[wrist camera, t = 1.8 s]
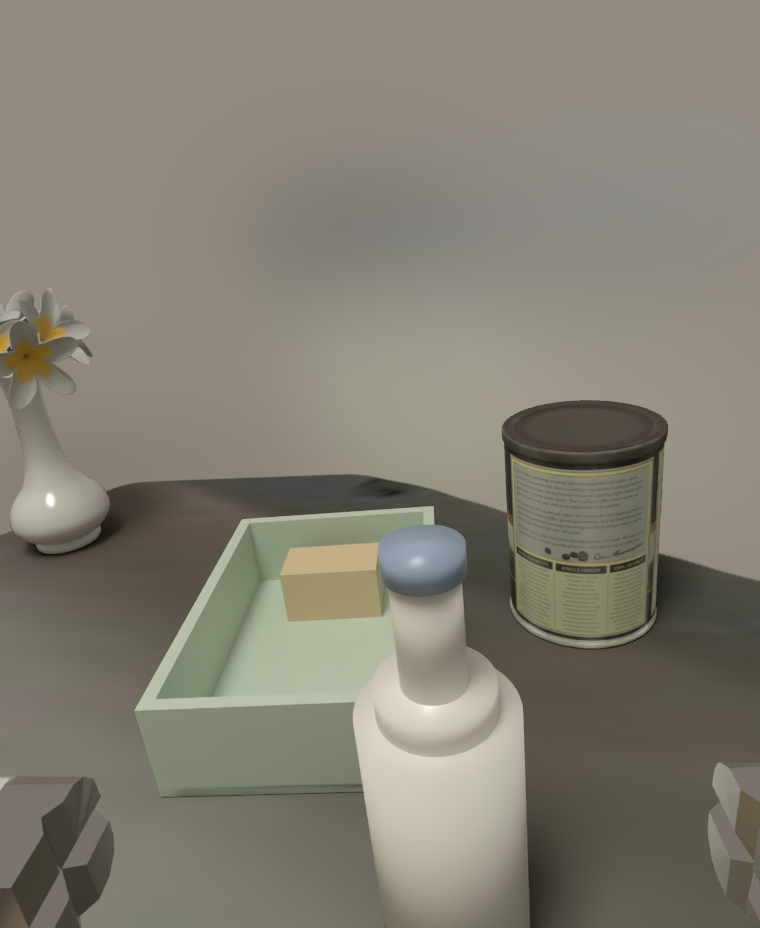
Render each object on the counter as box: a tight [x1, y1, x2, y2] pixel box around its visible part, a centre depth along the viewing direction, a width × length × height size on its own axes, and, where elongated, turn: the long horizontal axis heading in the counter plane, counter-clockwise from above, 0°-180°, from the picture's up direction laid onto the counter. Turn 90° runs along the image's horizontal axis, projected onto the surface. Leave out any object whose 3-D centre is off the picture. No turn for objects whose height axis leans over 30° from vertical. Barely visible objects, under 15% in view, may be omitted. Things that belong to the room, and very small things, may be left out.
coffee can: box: [502, 400, 668, 649], centre depth 46 cm, size 10×10×14 cm
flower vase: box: [0, 288, 110, 554], centre depth 63 cm, size 13×18×25 cm
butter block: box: [280, 542, 385, 622], centre depth 50 cm, size 7×4×4 cm, turn 86°
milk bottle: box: [353, 525, 530, 928], centre depth 24 cm, size 6×6×19 cm
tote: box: [135, 506, 435, 797], centre depth 44 cm, size 16×22×6 cm
